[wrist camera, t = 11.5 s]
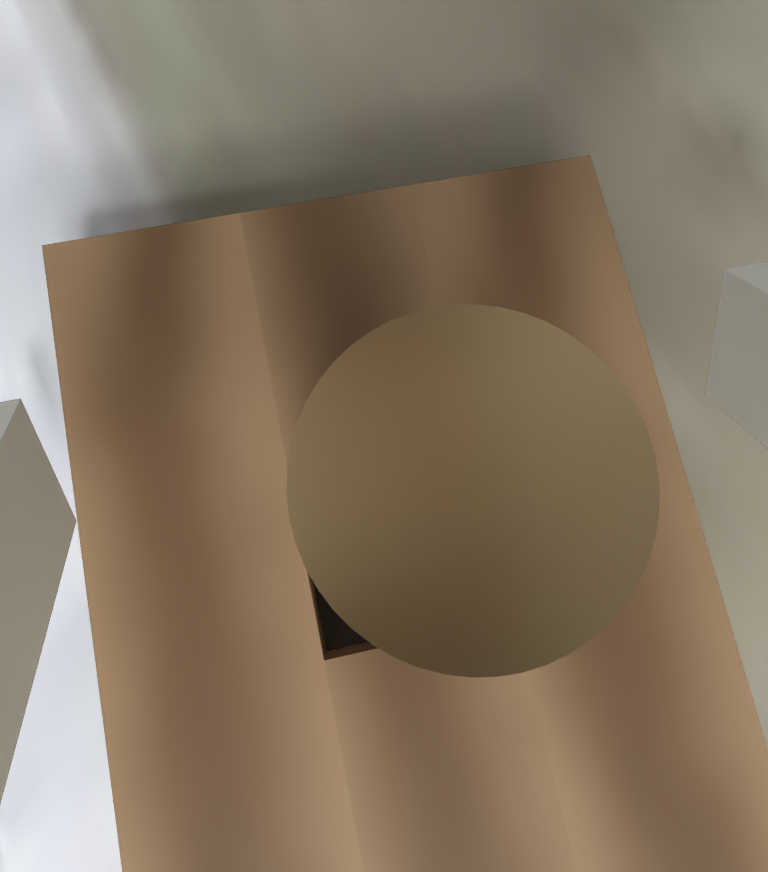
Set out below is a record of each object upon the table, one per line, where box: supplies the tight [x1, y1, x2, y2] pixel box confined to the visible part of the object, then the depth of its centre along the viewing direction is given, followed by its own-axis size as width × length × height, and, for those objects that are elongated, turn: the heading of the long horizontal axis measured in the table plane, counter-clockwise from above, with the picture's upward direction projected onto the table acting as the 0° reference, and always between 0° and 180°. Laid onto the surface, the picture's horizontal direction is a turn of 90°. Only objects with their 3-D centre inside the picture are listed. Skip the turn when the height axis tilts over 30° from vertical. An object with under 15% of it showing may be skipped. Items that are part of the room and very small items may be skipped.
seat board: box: [42, 155, 768, 872], centre depth 20 cm, size 16×20×3 cm
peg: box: [286, 304, 660, 678], centre depth 15 cm, size 4×4×14 cm
